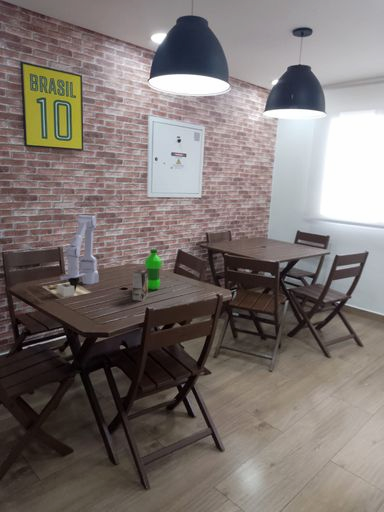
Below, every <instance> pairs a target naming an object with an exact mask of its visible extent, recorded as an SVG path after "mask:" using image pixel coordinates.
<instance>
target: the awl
mask: <svg viewBox="0 0 384 512" xmlns="http://www.w3.org/2000/svg"><path fill="white" fill-rule="evenodd" d="M64 275H67V274H65V273H62V274H60V276H64ZM61 283H62V284H63V283H67V279H66V280H61V279H60V284H61Z"/></svg>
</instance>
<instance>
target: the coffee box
mask: <svg viewBox="0 0 384 512" xmlns="http://www.w3.org/2000/svg"><path fill="white" fill-rule="evenodd" d="M148 294H149V288H148V270H147V269H138V268H137V269H136V270H135V271H134V272H133V273H132V300H133V301H139V302H143V301H145V300H146V298H148Z"/></svg>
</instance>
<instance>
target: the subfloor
mask: <svg viewBox="0 0 384 512" xmlns="http://www.w3.org/2000/svg"><path fill="white" fill-rule="evenodd" d="M67 283H69V281H68V282H67ZM57 284H58V283H55V284H51V285H44V286H42V288H43V289H45V290H47V291H48V292H49V293H51V294H52V295H54V296H55V297H57V298H59V299H63V298H70V297H76V296H82V295H86V294H92V293H93V292H92V291H90V290H88V289H86V288H84V287H83V286H81V285H79V284H77V287H76V291H74V295H72V296H67V297H63V296H62V295H60V294H59V293H57ZM60 284H62V283H61V282H60ZM69 284H70V283H69Z"/></svg>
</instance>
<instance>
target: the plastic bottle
mask: <svg viewBox="0 0 384 512" xmlns="http://www.w3.org/2000/svg"><path fill="white" fill-rule="evenodd" d="M149 251H150V252H149V253H151V254H150V255H149V256H148V257H146V258H145V260H144V262H145V263H144V265H145V267H146V270H148V290H151V291H152V290H154V291H155V290H157V289H158V288H159V287H160V286H161V278H160V268H161V267H162V259H161V258H160V257H159V256H158V255H157V253H158V249H155V248H150V250H149Z"/></svg>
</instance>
